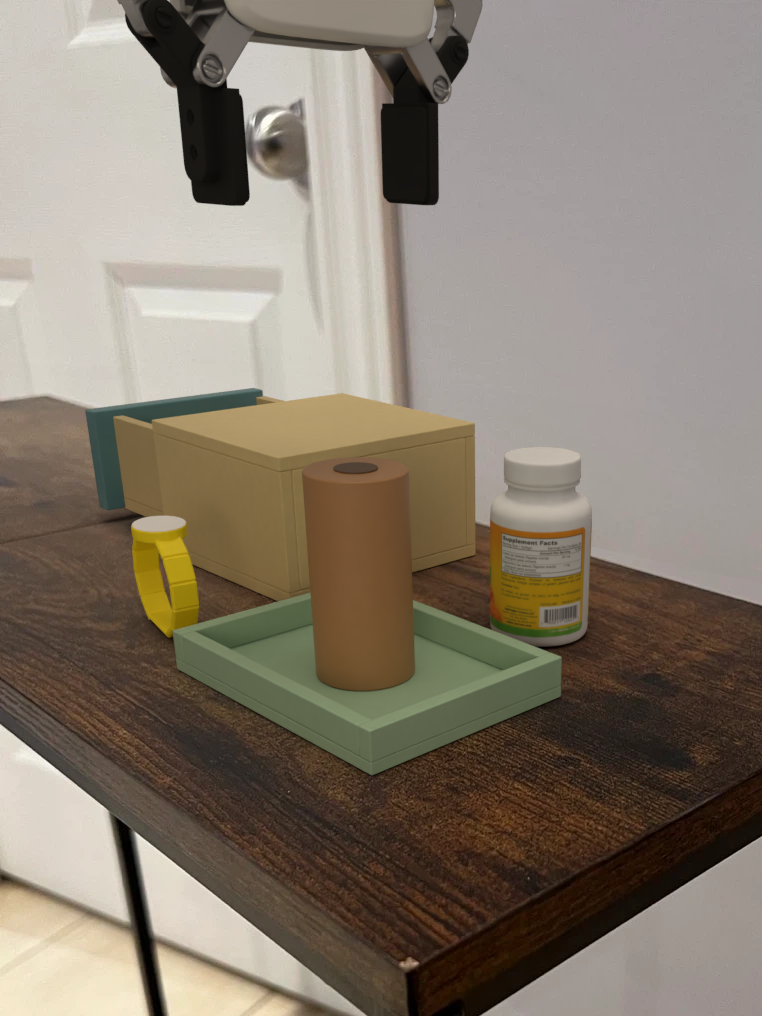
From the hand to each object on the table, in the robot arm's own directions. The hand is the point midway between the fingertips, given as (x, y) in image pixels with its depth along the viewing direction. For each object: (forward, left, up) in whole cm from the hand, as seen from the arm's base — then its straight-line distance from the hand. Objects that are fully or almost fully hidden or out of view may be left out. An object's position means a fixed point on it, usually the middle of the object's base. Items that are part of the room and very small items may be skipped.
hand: (321, 203), depth 48 cm
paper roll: (+1, -1, -21) cm, 21 cm away
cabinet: (-6, +19, -22) cm, 29 cm away
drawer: (-16, +27, -21) cm, 37 cm away
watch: (-11, +5, -22) cm, 25 cm away
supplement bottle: (+9, +7, -22) cm, 24 cm away
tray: (+1, -1, -22) cm, 22 cm away
